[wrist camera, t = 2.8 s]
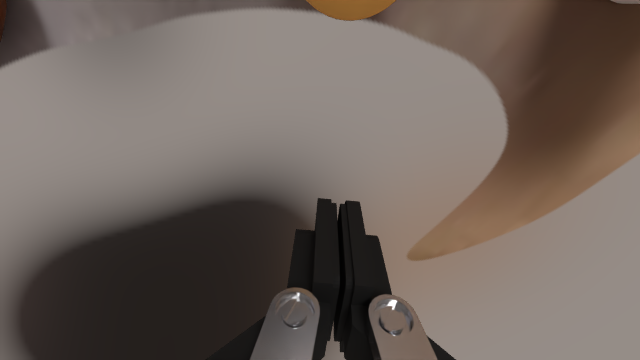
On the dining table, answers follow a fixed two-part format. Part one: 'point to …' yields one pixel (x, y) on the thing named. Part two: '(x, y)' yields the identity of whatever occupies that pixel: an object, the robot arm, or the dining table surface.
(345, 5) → the ball
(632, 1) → the white cup
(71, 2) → the dining table surface
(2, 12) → the potato
